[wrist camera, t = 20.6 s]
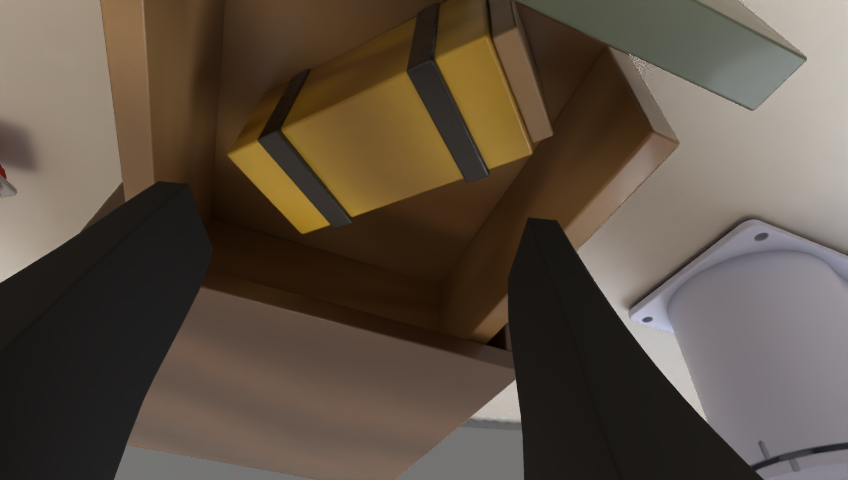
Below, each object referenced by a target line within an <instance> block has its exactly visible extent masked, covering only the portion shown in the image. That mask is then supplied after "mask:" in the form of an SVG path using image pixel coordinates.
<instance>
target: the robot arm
mask: <svg viewBox="0 0 848 480" xmlns="http://www.w3.org/2000/svg"><path fill="white" fill-rule="evenodd" d="M212 252H213V248H212V245H211V243H210V240H209V238H208V235H207V232H206V230H205V227H204V225H203V222H202V219H201V217H200V214H199V212H198V209H197V206H196V204H195V201H194V199H193V196H192V193H191V191H190V188H189V186H188V184H184V183H174V182H164V181H158V182H156V183H155V184H153V185H151V186H150V187H148V188H147V189H145V190H143V191H142V192H140V193H139V194H137V195H136V196H134V197H133V198H131V199H130V200H128V201H127V202H125V203H124V204H122V205H121V206H119V207H118V208H116V209H115V210H113V211H112V212H110V213H109V214H108V215H106V216H105V217H103V218H102V219H100V220H99V221H97V222H96V223H94V224H93V225H91V226H90V227H88V228H87V229H85V230H84V231H82V232H81V233H79V234H78V235H76V236H75V237H73V238H72V239H70V240H69V241H67V242H66V243H64V244H63V245H61V246H60V247H58V248H57V249H55V250H53V251H52V252H50V253H48V254H47V255H45V256H44V257H42V258H40V259H39V260H37V261H35V262H34V263H32V264H31V265H29V266H27V267H26V268H24V269H22V270H21V271H19V272H18V273H16V274H14V275H13V276H11V277H9V278H8V279H6V280H5V281H3V282H1V283H0V480H114V478H115V475H116V472H117V469H118V467H119V463H120V461H121V458H122V455H123V453H124V450H125V447H126V444H127V442H128V439H129V437H130V434H131V431H132V429H133V426H134V424H135V421H136V419H137V416H138V414H139V411H140V408H141V406H142V403H143V401H144V399H145V397H146V394H147V392H148V390H149V388H150V386H151V384H152V382H153V380H154V378H155V376H156V374H157V372H158V370H159V368H160V366H161V364H162V362H163V360H164V358H165V357H166V355H167V353H168V351H169V349H170V347H171V345H172V343H173V341H174V339H175V337H176V335H177V333H178V332H179V330H180V328H181V326H182V324H183V322H184V320H185V318H186V316H187V314H188V312H189V310H190V308H191V306H192V304H193V302H194V300H195V298H196V296H197V294H198V292H199V290H200V287H201V284H202V282H203V279H204V276H205V273H206V271H207V267H208V264H209V261H210V258H211V255H212ZM628 314H629V317H630V319H631V320H632V321H634V322H637V323H641V324H644V325H647V326H650V327H654V328H657V329H660V330H663V331H667V332H670V333H673V334H675V336H676V339H677V341H678V344H679V347H680V349H681V352H682V355H683V357H684V360H685V363H686V365H687V368H688V371H689V373H690V376H691V379H692V381H693V384H694V387H695V389H696V392H697V395H698V397H699V400H700V403H701V405H702V408H703V411H704V413H705V416H706V419H707V421H708V423H707V422H706V421H705V420H704V419H703V418H702V417H701V416H700V415H699V414H698V413H697V412H696V411H695V410H694V408H693V407H692V406H691V405H690V404H689V403H688V402H687V401H686V400H685V399H684V398H683V396H682V395H681V394H680V393H679V392H678V391H677V389H676V388H675V387H674V386H673V385H672V384H671V383H670V381H669V380H668V379H667V378H666V377H665V376H664V374H663V373H662V372H661V371H660V370H659V368H658V367H657V366H656V365H655V364H654V362H653V361H652V360H651V359H650V357H649V356H648V355H647V354H646V352H645V351H644V350H643V348H642V347H641V346H640V345H639V343H638V342H637V341H636V339H635V338H634V337H633V335H632V334H631V333H630V331H629V330H628V329H627V327H626V326H625V325H624V323H623V322H622V320H621V319H620V318H619V316H618V315H617V313H616V312H615V311H614V309H613V308H612V306H611V305H610V303H609V302H608V300H607V299H606V297H605V296H604V294H603V293H602V291H601V290H600V288H599V287H598V285H597V284H596V282H595V281H594V279H593V278H592V276H591V275H590V273H589V272H588V270H587V268H586V267H585V265H584V264H583V262H582V260H581V259H580V257H579V255H578V254H577V252H576V251H575V249H574V247H573V246H572V244H571V242H570V241H569V239H568V237H567V236H566V234H565V232H564V231H563V229H562V227H561V226H560V224H559V223H558V221H557V220H550V219H539V218H529V217H528V219H527V222H526V225H525V228H524V231H523V234H522V237H521V240H520V243H519V246H518V249H517V252H516V255H515V258H514V261H513V264H512V267H511V270H510V273H509V276H508V323H509V331H510V339H511V346H512V354H513V362H514V369H515V376H516V384H517V391H518V399H519V406H520V413H521V424H522V433H523V457H524V480H848V256H847V255H845V254H842V253H840V252H837V251H835V250H832V249H830V248H827V247H825V246H822V245H820V244H817V243H815V242H812V241H810V240H807V239H805V238H802V237H800V236H797V235H795V234H792V233H790V232H787V231H785V230H782V229H780V228H777V227H775V226H772V225H770V224H767V223H765V222H762V221H760V220H755V219H754V220H748V221H745V222H743V223H741V224H740V225H738V226H737V227H736V228H735V229H733V230H732V231H731V232H729V233H728V234H727V235H726V236H724V237H723V238H722V239H720V240H719V241H718V242H717V243H715V244H714V245H713V246H711V247H710V248H709V249H708V250H706V251H705V252H704V253H702V254H701V255H700V256H698V257H697V258H696V259H695V260H693V261H692V262H691V263H689V264H688V265H687V266H686V267H684V268H683V269H682V270H680V271H679V272H678V273H677V274H675V275H674V276H673V277H671V278H670V279H669V280H668V281H666V282H665V283H664V284H662V285H661V286H660V287H659V288H657V289H656V290H655V291H653V292H652V293H651V294H650V295H648V296H647V297H646V298H644V299H643V300H642V301H641V302H639V303H638V304H637V305H635V306H634V307H633V308H632V309H630V311H629V312H628Z"/></svg>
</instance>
